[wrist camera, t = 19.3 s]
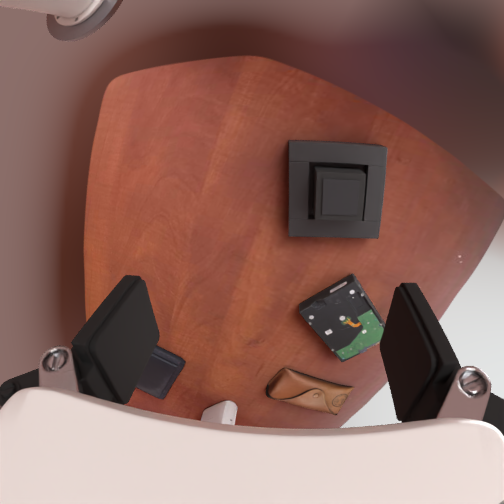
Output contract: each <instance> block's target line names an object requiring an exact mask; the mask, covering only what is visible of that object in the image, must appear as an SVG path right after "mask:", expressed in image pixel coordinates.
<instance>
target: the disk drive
mask: <svg viewBox="0 0 504 504" xmlns="http://www.w3.org/2000/svg"><path fill="white" fill-rule="evenodd" d="M299 313H300V314H301V315H302V317H303V318H304V319H305V321H306V322H307V323H309V325H310V326H311V327H312V328H313V329H314V331H315V332H316V333H317V334H318V335H319V336H320V338H321V339H322V340H323V341H324V342H325V343H326V344H327V346H328V347H329V348H330V349H331V350H332V351H333V353H334V354H335V355H336V356H337V357H338V358H339V360H340V361H341V362H344V361H346V360H348V359H350V358H352V357H354V356H356V355H358V354H360V353H363V352H365V351H367V348H368V349H369V348H371V347H373V345H374V346H375V345H376V344H378V343H380V340H381V337H382V334H383V331H384V327H385V323H384V321H383V320H382V318H381V316H380V315H379V313H378V312H377V310H376V308H375V307H374V305H373V304H372V302H371V301H370V299H369V297H368V296H367V294H366V293H365V291H364V290H363V288H362V286H361V284H360V283H359V281H358V280H357V279H356V277H355V276H354V274H351V275H349V276H347V277H345V278H343V279H342V280H340V281H338V282H337V283H335V284H333V285H332V286H330V287H328V288H326V289H325V290H323V291H321V292H319V293H317V294H316V295H314V296H312V297H310V298H309V299H307V300H305V301H304V302H302V303H300V304H299Z"/></svg>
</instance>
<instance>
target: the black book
mask: <svg viewBox="0 0 504 504" xmlns="http://www.w3.org/2000/svg"><path fill="white" fill-rule="evenodd" d="M184 364H185V361H184V360H183V359H182V358H180V357H179V356H177V355H175V354H173V353H171V352H169V351H166V350H164V349H162V348H160V347H158V346H156V347H155V349H154V351H153V353H152V355H151V357H150V359H149V361H148V363H147V365H146V367H145V369H144V371H143V373H142V375H141V377H140V379H139V381H138V383H137V385H136V387H137V388H138V389H140V390H142V391H144V392H146V393H148V394H150V395H152V396H154V397H157V398H159V399H164V398H165V396H166V395H167V393H168V391H169V389H170V388H171V386H172V384H173V382H174V381H175V379H176V378H177V376H178V375H179V373H180V372H181V370H182V369H183V367H184Z"/></svg>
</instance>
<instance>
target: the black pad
mask: <svg viewBox="0 0 504 504" xmlns="http://www.w3.org/2000/svg"><path fill="white" fill-rule="evenodd" d="M365 181H366V174H365V173H364V172H363V171H361V170H360V169H359V168H352V167H333V166H314V172H313V208H312V209H313V214H314V218H315V220H339V221H362V216H363V205H364V194H365Z"/></svg>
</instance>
